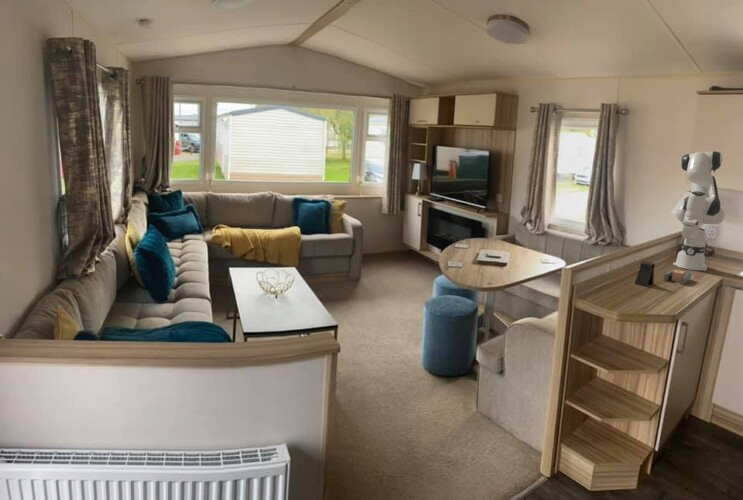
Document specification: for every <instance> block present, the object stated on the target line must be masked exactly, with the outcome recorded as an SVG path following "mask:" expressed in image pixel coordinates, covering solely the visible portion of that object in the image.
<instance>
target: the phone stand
mask: <svg viewBox="0 0 743 500" xmlns="http://www.w3.org/2000/svg"><path fill="white" fill-rule="evenodd" d="M634 284H635V285H639V286H643V287H650V286H653V285H654V284H655V263H651V262H648V261H643V260H642V261H641V263H640V267H639V270H638V273H637V276H636V278H635V282H634Z"/></svg>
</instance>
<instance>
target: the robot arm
mask: <svg viewBox="0 0 743 500" xmlns="http://www.w3.org/2000/svg"><path fill="white" fill-rule="evenodd" d="M723 161H724V160H723V156H722V153H721V152H720V151H715V150H714V151H696V152H695V153H686V154H684V155H683V156H681V159H680V167H681V169H682V170H683V171H685V172H686V176H687V179H688V180H689V181H690V182H691V186H690V187H691V188H690V192H689V196H687V197H686V198H684V199H683V204H680V205H679V206H678V207H677V209H676V211H675V216H676V218H677V220H678V221H680V223H682V234H681V237H682V239H684V240H683V241H684V242H683V243H682V245H681V250H680V251H678V254H677V257H676V261H675V262H673V263H672V265H673V266H676V267H678V268H682V269H684V270H685V269H686V270H691V271H703V272H707V271H708V265H707V264H706V262H705V260H706V256H705V250H706V248H705V247H706V246H705V245H706V240H707V234H706V232H705V231H704V230H703V229H701V228H700V227H699V226H701V225H720V224H721V223H722V222H724V219H725V217H726V214H725V211H724V209H723V208H722V205H721V199H720V197H719V191H718V186H717V181H716V178H715V176H713V175H712V171H713V173H716V171H717V170H719V169H720V168H721V165H722V163H723Z"/></svg>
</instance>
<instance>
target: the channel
mask: <svg viewBox="0 0 743 500" xmlns="http://www.w3.org/2000/svg"><path fill="white" fill-rule="evenodd" d="M675 270H676V269H674V268H673V269H671V270H668V271H667V272H665V273H664V277H663V282H667V281H669V280H671V279H672V274H673V271H675ZM692 274H693V273H692V272H687V273H685V275H684V276H683V277H682V278H681V282H679V283H680V284H679V285H686V284H687V283H688V282H690V281H691V279H692Z"/></svg>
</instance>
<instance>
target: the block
mask: <svg viewBox="0 0 743 500" xmlns="http://www.w3.org/2000/svg"><path fill="white" fill-rule="evenodd" d="M674 270H675V271H673V274H672V278H671V279H670V280H671V281H673V282H678V283H681V278H682V277H683V276H684V275H686V271H685V270H679V269H674Z"/></svg>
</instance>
